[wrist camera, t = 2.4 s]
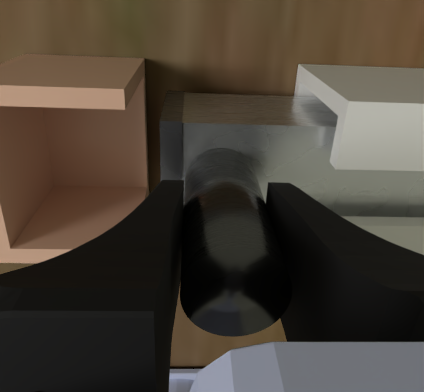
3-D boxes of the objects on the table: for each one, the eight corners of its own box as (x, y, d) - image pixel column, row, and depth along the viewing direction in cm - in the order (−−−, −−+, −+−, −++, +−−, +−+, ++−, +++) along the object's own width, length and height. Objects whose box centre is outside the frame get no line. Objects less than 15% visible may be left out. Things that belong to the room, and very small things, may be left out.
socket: (149, 193, 20) (133, 263, 15) (46, 191, 19) (-4, 262, 14) (144, 58, 17) (123, 89, 12) (24, 53, 16) (-49, 83, 11)
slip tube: (426, 188, 19) (624, 360, 10) (168, 183, 18) (145, 362, 10) (453, 99, 17) (725, 219, 8) (167, 90, 16) (137, 210, 8)
